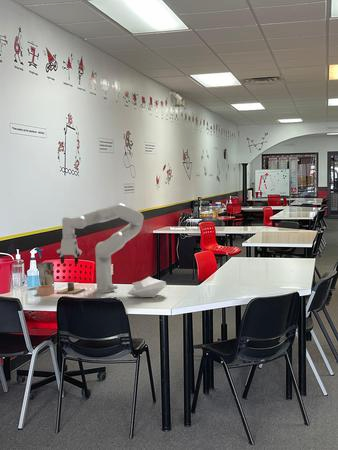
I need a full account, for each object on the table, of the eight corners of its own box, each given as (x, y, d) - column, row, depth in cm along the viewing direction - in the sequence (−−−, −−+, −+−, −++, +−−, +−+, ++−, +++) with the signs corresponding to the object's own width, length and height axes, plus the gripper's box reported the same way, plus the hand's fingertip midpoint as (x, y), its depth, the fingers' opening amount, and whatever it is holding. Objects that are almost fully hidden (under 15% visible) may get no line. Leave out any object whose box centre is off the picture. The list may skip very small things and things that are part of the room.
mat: (87, 291, 372) (87, 290, 372) (76, 295, 358) (76, 294, 358) (66, 290, 377) (66, 289, 377) (54, 294, 363) (54, 293, 363)
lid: (85, 290, 372) (84, 281, 371) (75, 294, 359) (75, 284, 359) (66, 289, 376) (66, 280, 375) (56, 293, 363) (56, 284, 363)
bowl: (56, 293, 366) (56, 285, 366) (48, 296, 357) (48, 288, 356) (42, 292, 370) (42, 285, 369) (34, 295, 360) (33, 287, 360)
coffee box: (47, 284, 400) (46, 261, 399) (54, 285, 397) (53, 262, 396) (38, 286, 392) (37, 263, 391) (45, 287, 389) (44, 263, 388)
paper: (145, 291, 364) (145, 272, 363) (175, 296, 348) (174, 275, 347) (116, 298, 345) (116, 277, 345) (146, 303, 329) (146, 281, 329)
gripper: (83, 236, 366) (84, 263, 367) (59, 235, 371) (60, 262, 372) (78, 237, 359) (79, 264, 360) (53, 237, 364) (54, 264, 365)
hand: (69, 263), depth 366 cm, fingers open, 9 cm apart
